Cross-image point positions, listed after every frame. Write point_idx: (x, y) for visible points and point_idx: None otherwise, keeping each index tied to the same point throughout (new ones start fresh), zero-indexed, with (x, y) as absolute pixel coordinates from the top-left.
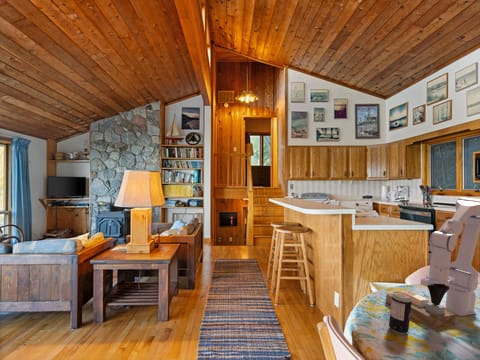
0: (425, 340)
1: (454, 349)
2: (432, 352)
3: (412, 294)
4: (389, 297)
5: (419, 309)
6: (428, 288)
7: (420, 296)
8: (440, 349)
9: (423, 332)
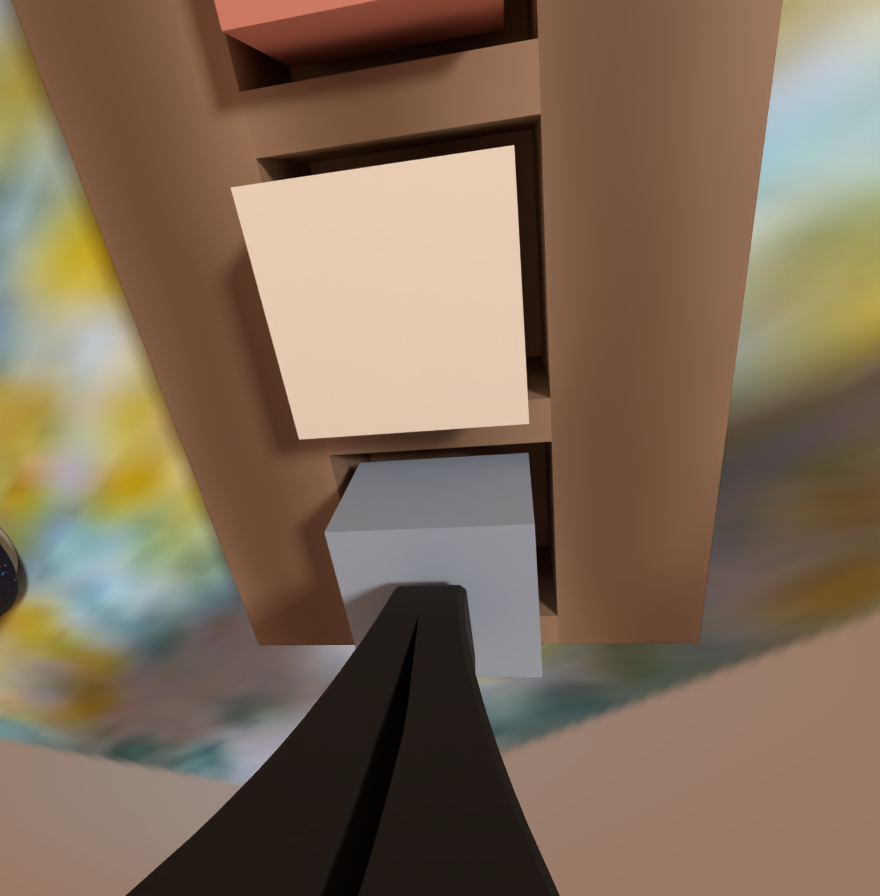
0: (129, 664)
1: (270, 754)
2: (98, 741)
3: None
4: None
5: (252, 464)
6: (175, 867)
7: (467, 250)
8: (172, 736)
9: (182, 595)
